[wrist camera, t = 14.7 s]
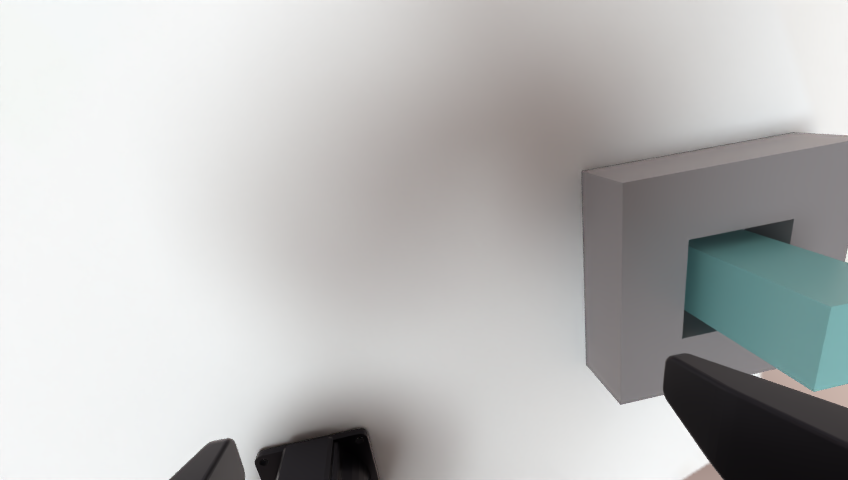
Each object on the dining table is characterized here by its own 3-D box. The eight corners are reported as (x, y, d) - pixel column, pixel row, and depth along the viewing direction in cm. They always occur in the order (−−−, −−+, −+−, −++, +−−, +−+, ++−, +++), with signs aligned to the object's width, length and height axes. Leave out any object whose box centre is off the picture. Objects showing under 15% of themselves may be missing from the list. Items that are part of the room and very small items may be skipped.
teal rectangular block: (723, 284, 23) (898, 371, 15) (664, 297, 22) (813, 392, 15) (729, 225, 22) (923, 287, 14) (667, 237, 21) (831, 307, 14)
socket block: (765, 325, 25) (824, 357, 22) (586, 364, 24) (620, 404, 21) (793, 132, 22) (870, 136, 18) (581, 171, 21) (622, 182, 17)
